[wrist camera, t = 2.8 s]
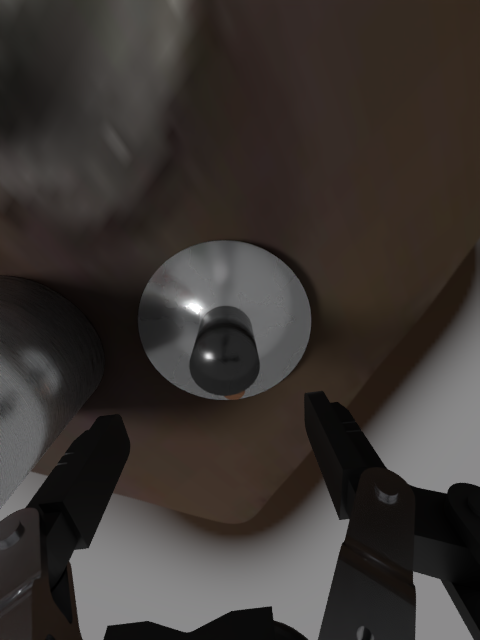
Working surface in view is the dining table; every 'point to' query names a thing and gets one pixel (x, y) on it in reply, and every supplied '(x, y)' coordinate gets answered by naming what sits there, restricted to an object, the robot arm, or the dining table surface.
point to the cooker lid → (224, 320)
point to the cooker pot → (40, 373)
